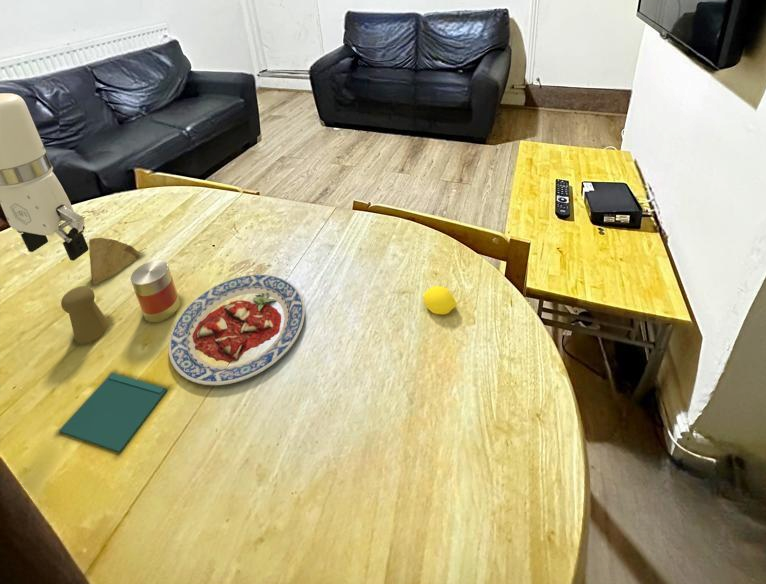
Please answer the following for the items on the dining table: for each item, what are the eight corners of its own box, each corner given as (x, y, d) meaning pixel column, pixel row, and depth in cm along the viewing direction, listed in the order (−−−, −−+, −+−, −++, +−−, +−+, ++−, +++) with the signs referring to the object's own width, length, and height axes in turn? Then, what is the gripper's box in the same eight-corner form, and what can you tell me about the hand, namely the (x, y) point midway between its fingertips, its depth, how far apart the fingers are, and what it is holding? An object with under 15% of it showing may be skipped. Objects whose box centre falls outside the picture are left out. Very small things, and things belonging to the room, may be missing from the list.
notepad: (61, 435, 66) (58, 429, 65) (113, 377, 75) (111, 371, 74) (121, 456, 63) (118, 450, 62) (168, 392, 72) (166, 387, 71)
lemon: (419, 315, 85) (419, 295, 82) (426, 295, 89) (427, 276, 87) (452, 325, 82) (453, 305, 80) (458, 304, 87) (459, 285, 85)
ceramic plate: (210, 425, 66) (206, 413, 65) (149, 334, 83) (145, 324, 81) (331, 323, 83) (330, 313, 82) (261, 265, 100) (259, 255, 98)
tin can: (137, 321, 86) (121, 281, 81) (161, 296, 92) (148, 257, 87) (164, 328, 84) (150, 287, 79) (187, 302, 90) (175, 262, 86)
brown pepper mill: (68, 341, 82) (48, 300, 77) (96, 318, 87) (79, 278, 82) (89, 350, 80) (70, 308, 75) (117, 325, 85) (101, 285, 80)
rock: (143, 239, 106) (96, 247, 102) (137, 228, 100) (88, 236, 96) (143, 282, 101) (94, 291, 97) (137, 274, 95) (85, 283, 91)
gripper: (-42, 174, 67) (2, 257, 74) (38, 186, 62) (76, 273, 69) (7, 153, 73) (44, 231, 80) (83, 163, 69) (114, 244, 76)
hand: (59, 250), depth 75 cm, fingers open, 9 cm apart
